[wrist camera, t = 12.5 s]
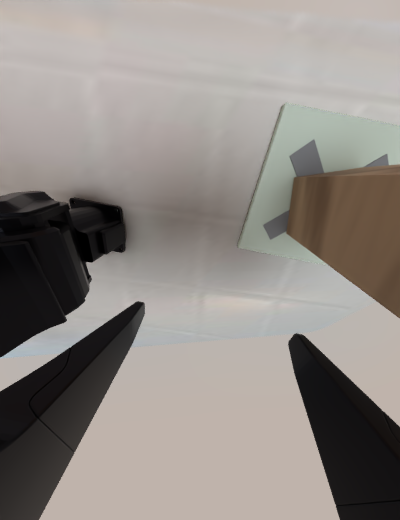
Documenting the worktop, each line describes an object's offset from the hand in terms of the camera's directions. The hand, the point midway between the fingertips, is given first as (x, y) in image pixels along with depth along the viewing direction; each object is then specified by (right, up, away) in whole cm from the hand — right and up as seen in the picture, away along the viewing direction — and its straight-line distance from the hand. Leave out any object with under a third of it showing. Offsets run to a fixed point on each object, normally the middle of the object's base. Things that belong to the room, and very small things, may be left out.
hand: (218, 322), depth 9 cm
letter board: (+12, +10, +8) cm, 18 cm away
